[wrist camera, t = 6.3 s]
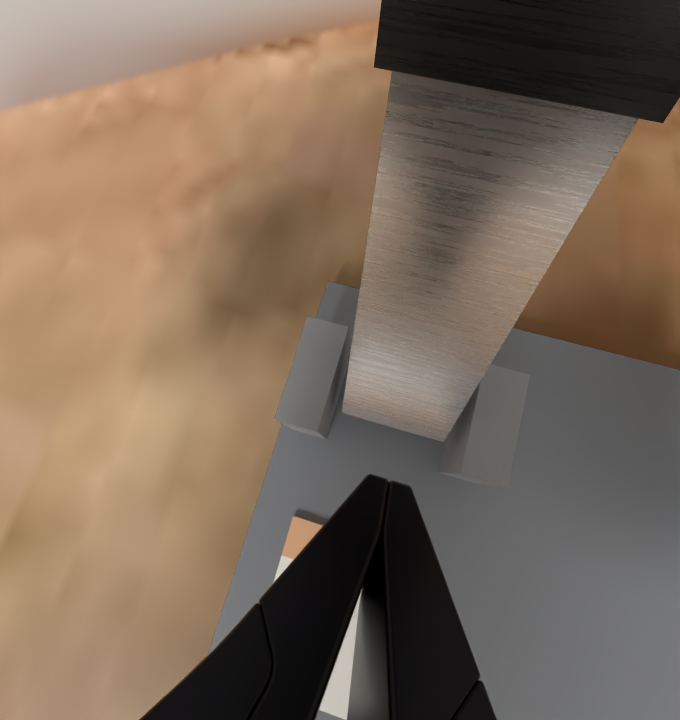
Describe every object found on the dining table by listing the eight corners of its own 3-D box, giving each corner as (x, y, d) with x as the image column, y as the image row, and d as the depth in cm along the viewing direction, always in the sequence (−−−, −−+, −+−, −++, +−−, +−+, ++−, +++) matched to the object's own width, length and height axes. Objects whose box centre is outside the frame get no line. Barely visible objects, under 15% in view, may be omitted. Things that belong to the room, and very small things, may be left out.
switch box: (887, 939, 12) (1194, 1214, 7) (206, 684, 14) (137, 781, 10) (887, 436, 15) (1103, 424, 10) (330, 293, 17) (319, 235, 13)
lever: (443, 460, 12) (791, -75, 4) (331, 427, 13) (397, -131, 4) (451, 404, 14) (729, -105, 5) (349, 376, 14) (429, -146, 5)
